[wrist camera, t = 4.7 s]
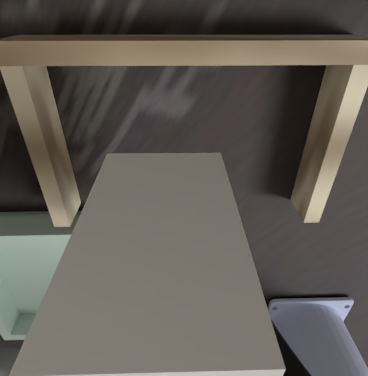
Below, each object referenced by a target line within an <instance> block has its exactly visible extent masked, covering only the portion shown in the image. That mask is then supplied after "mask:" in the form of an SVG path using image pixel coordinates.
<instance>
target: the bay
mask: <svg viewBox="0 0 368 376" xmlns="http://www.w3.org/2000/svg"><path fill="white" fill-rule="evenodd" d="M200 65H326V68H325V72H324V76H323V79H322V83H321V87H320V91H319V94H318V98H317V102H316V106H315V109H314V113H313V117H312V121H311V124H310V128H309V132H308V136H307V139H306V143H305V147H304V151H303V154H302V158H301V162H300V166H299V169H298V173H297V177H296V181H295V184H294V188H293V192H292V196H291V199H290V200H291V202H292V203H293V205H294V207H295V208H296V210H297V212H298V214H299V215H300V217H301V219H302V220H303V222H304V223H306V222H319V221H320V218H321V215H322V212H323V210H324V207H325V204H326V201H327V198H328V196H329V193H330V190H331V187H332V184H333V182H334V179H335V176H336V173H337V170H338V168H339V165H340V162H341V159H342V156H343V154H344V151H345V148H346V145H347V142H348V140H349V137H350V134H351V131H352V128H353V126H354V123H355V120H356V117H357V114H358V112H359V109H360V106H361V103H362V100H363V98H364V95H365V92H366V89H367V86H368V37H364V36H359V35H15V36H10V37H6V38H1V39H0V70H1V73H2V76H3V79H4V82H5V85H6V88H7V91H8V94H9V97H10V99H11V102H12V105H13V108H14V111H15V114H16V117H17V120H18V123H19V126H20V129H21V131H22V134H23V137H24V140H25V143H26V146H27V149H28V152H29V155H30V158H31V161H32V163H33V166H34V169H35V172H36V175H37V178H38V181H39V184H40V187H41V190H42V193H43V195H44V198H45V201H46V204H47V207H48V210H49V213H50V216H51V219H52V222H53V225H54V227H70V226H71V224H72V222H73V219H74V217H75V215H76V213H77V211H78V209H79V206H80V204H81V200H80V197H79V193H78V189H77V185H76V181H75V177H74V173H73V169H72V165H71V161H70V157H69V154H68V150H67V146H66V142H65V138H64V134H63V130H62V126H61V122H60V118H59V114H58V111H57V107H56V103H55V99H54V95H53V91H52V87H51V83H50V79H49V75H48V71H47V67H46V66H200Z"/></svg>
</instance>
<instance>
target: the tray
mask: <svg viewBox="0 0 368 376" xmlns="http://www.w3.org/2000/svg"><path fill="white" fill-rule="evenodd" d="M81 212H82V211H77V213H76V215H75V217H74V219H73V222H72V224H71V226H70V227H54V225H53V222H52V219H51V216H50V213H49V211H29V212H0V334H1V336H2V337H3V339H4V340H25V338H26V336H27V334H28V332H29V329H30V327H31V325H32V323H33V320H34V318H35V316H36V313H37V311H38V309H39V307H40V304H41V302H42V300H43V298H44V295H45V293H46V291H47V289H48V286H49V284H50V282H51V280H52V277H53V275H54V273H55V271H56V268H57V266H58V264H59V261H60V259H61V257H62V255H63V252H64V250H65V248H66V246H67V243H68V241H69V239H70V237H71V234H72V232H73V230H74V228H75V225H76V223H77V221H78V219H79V216H80V214H81Z"/></svg>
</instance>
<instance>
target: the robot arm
mask: <svg viewBox="0 0 368 376" xmlns="http://www.w3.org/2000/svg"><path fill="white" fill-rule="evenodd" d="M353 303H354V301H353V299H352V298H351V297H331V298H289V299H273V300H271V301H270V302H269V306H268V312H269V315H270V318H271V322H272V325H273V328H274V332H275V335H276V338H277V342H278V345H279V348H280V351H281V355H282V358H283V361H284V365H285V368H286V370H285V372H284V375H283V376H368V368H367V366H366V364H365V362H364V361H363V359H362V357H361V355H360V353H359V351H358V349H357V347H356V345H355V343H354V341H353V340H352V338H351V336H350V334H349V332H348V330H347V328H346V326H345V324H344V322H343V321H344V319H345V317H346V316H347V314H348V312H349V310H350V309H351V307H352V305H353Z"/></svg>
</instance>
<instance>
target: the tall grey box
mask: <svg viewBox="0 0 368 376" xmlns="http://www.w3.org/2000/svg"><path fill="white" fill-rule="evenodd" d="M285 370H286V368H285V365H284V361H283V358H282V355H281V351H280V348H279V345H278V342H277V338H276V335H275V332H274V328H273V325H272V322H271V318H270V315H269V312H268V308H267V305H266V302H265V298H264V295H263V292H262V288H261V285H260V282H259V278H258V275H257V272H256V268H255V265H254V262H253V258H252V255H251V252H250V248H249V245H248V242H247V238H246V235H245V232H244V229H243V225H242V222H241V219H240V215H239V212H238V209H237V205H236V202H235V199H234V195H233V192H232V189H231V185H230V182H229V179H228V175H227V172H226V169H225V165H224V162H223V159H222V155H221V153H114V154H107V155H106V158H105V160H104V162H103V164H102V167H101V169H100V171H99V173H98V176H97V178H96V180H95V182H94V185H93V187H92V189H91V191H90V194H89V196H88V198H87V200H86V203H85V205H84V207H83V209H82V212H81V214H80V216H79V219H78V221H77V223H76V225H75V228H74V230H73V232H72V234H71V237H70V239H69V241H68V243H67V246H66V248H65V250H64V252H63V255H62V257H61V259H60V261H59V264H58V266H57V268H56V271H55V273H54V275H53V277H52V280H51V282H50V284H49V286H48V289H47V291H46V293H45V295H44V298H43V300H42V302H41V304H40V307H39V309H38V311H37V313H36V316H35V318H34V320H33V323H32V325H31V327H30V329H29V332H28V334H27V336H26V338H25V341H24V343H23V345H22V347H21V350H20V352H19V354H18V357H17V359H16V361H15V363H14V365H13V368H12V370H11V372H10V375H9V376H283V375H284V372H285Z"/></svg>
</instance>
